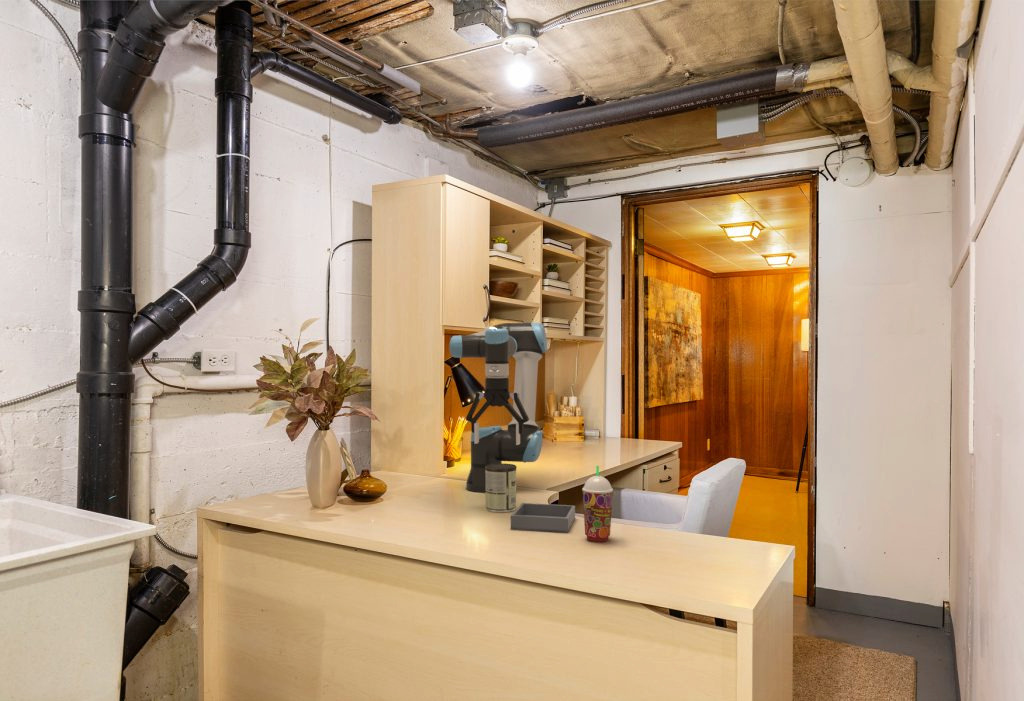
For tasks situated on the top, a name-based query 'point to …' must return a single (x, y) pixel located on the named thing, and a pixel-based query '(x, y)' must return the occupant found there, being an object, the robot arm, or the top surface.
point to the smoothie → (597, 507)
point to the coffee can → (500, 487)
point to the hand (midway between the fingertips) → (497, 443)
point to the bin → (543, 517)
